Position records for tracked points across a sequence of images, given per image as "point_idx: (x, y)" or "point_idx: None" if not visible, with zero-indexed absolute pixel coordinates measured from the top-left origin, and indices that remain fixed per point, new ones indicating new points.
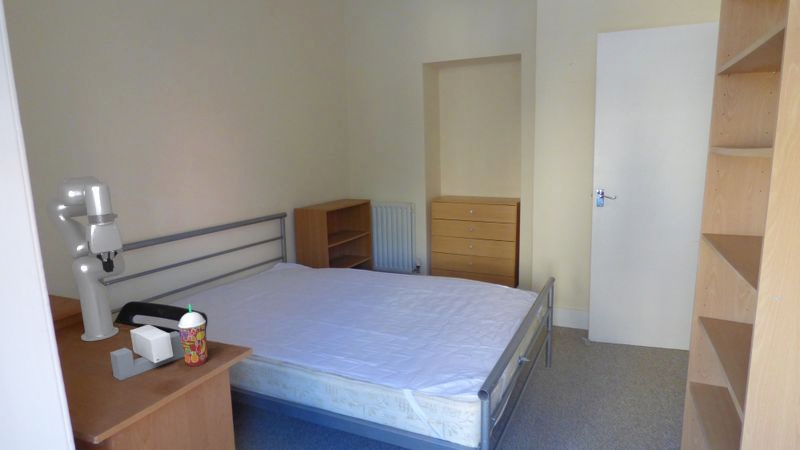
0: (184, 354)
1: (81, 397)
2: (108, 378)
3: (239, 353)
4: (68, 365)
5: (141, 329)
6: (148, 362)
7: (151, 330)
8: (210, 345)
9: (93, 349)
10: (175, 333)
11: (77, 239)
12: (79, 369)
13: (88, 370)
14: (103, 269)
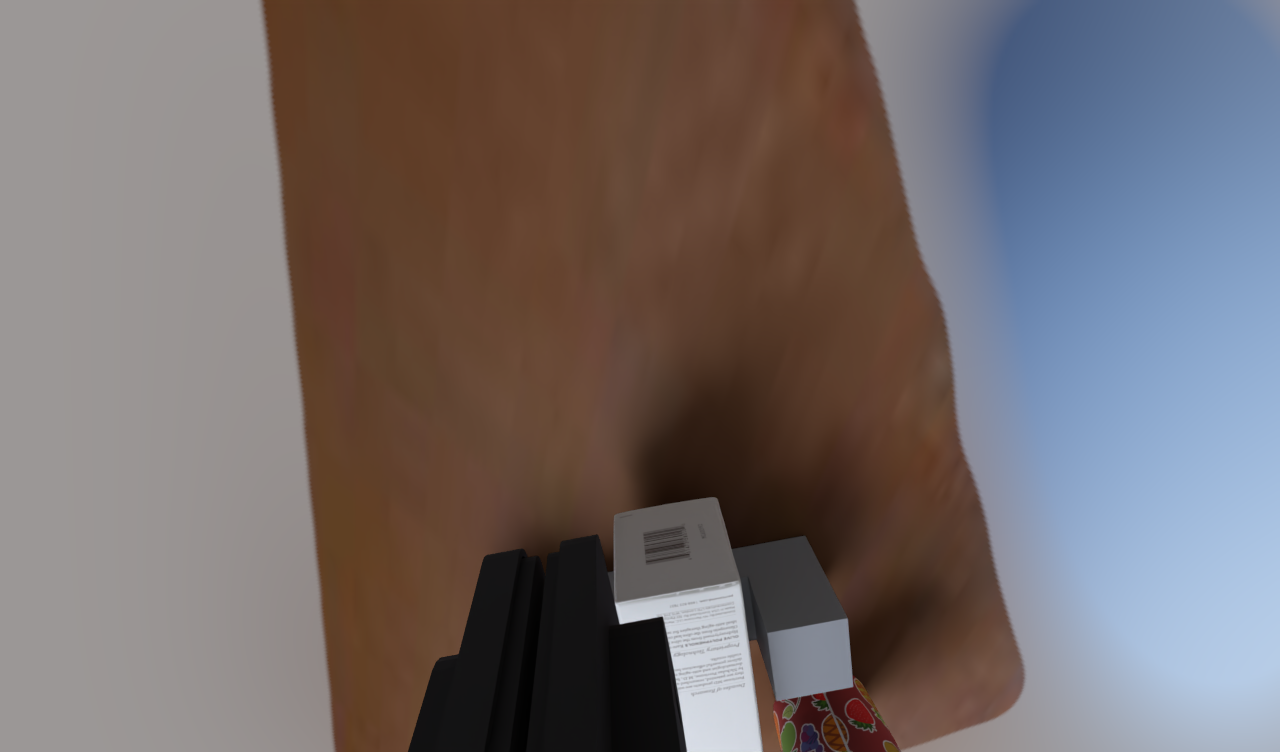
0: (780, 741)
1: (356, 698)
2: (470, 596)
3: (978, 717)
4: (290, 266)
5: (674, 647)
6: None
7: (714, 704)
8: (955, 553)
9: (440, 72)
10: (831, 656)
11: None
12: (350, 382)
13: (393, 433)
14: (445, 667)
